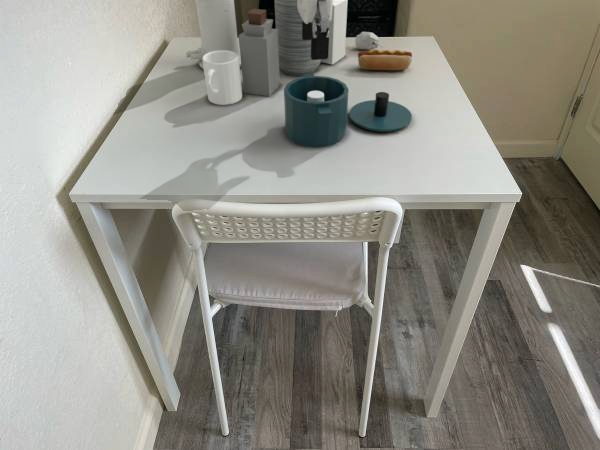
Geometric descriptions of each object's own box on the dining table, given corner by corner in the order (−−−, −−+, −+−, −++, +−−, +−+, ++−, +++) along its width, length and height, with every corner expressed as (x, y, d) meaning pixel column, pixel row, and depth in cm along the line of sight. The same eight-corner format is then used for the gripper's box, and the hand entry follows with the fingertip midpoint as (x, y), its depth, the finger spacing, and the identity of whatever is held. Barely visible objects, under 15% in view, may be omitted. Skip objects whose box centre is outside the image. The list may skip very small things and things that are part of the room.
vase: (305, 82, 115) (305, -18, 100) (268, 72, 120) (263, -25, 105) (329, 66, 123) (332, -29, 108) (293, 57, 128) (291, -35, 112)
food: (408, 65, 123) (411, 46, 120) (411, 73, 119) (414, 54, 116) (356, 64, 124) (357, 46, 120) (357, 73, 119) (358, 53, 116)
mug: (195, 110, 104) (188, 68, 98) (216, 88, 113) (211, 48, 107) (228, 114, 103) (223, 72, 96) (247, 92, 111) (243, 51, 105)
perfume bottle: (279, 84, 114) (276, 8, 102) (269, 96, 110) (265, 17, 98) (254, 81, 116) (249, 5, 104) (243, 92, 111) (236, 14, 99)
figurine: (357, 45, 134) (358, 28, 131) (383, 49, 132) (385, 32, 128) (353, 50, 131) (354, 32, 128) (380, 54, 129) (382, 36, 126)
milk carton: (344, 56, 128) (348, -18, 115) (332, 65, 123) (335, -12, 111) (322, 51, 131) (324, -22, 118) (309, 60, 126) (310, -16, 114)
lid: (358, 136, 95) (360, 112, 91) (342, 107, 105) (343, 83, 101) (420, 130, 97) (424, 106, 93) (399, 102, 107) (402, 79, 103)
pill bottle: (323, 134, 95) (324, 99, 90) (303, 132, 95) (302, 98, 90) (327, 124, 98) (328, 90, 93) (306, 122, 99) (306, 88, 94)
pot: (292, 157, 89) (291, 112, 83) (280, 114, 103) (278, 73, 96) (355, 150, 91) (358, 106, 85) (335, 109, 104) (336, 68, 98)
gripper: (287, -64, 82) (288, 33, 94) (303, -40, 70) (302, 68, 81) (328, -65, 83) (324, 31, 95) (351, -42, 71) (343, 66, 82)
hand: (314, 48), depth 88 cm, fingers open, 9 cm apart
